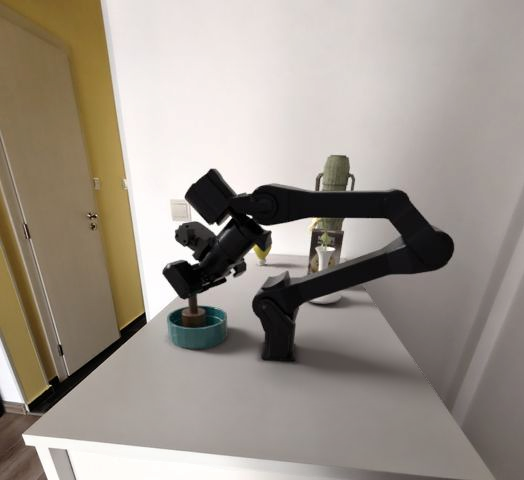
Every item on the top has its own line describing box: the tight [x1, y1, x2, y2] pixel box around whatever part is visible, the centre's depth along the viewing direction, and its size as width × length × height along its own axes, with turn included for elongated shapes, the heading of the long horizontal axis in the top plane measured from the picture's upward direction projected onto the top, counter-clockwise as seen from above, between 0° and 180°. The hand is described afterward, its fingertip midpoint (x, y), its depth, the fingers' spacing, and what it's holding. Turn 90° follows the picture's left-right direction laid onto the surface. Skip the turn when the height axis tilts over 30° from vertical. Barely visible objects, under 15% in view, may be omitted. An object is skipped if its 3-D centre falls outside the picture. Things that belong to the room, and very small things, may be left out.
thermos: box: [314, 154, 356, 231], centre depth 106 cm, size 9×12×35 cm
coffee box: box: [306, 227, 345, 275], centre depth 99 cm, size 9×6×16 cm
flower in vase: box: [307, 218, 342, 305], centre depth 84 cm, size 13×11×25 cm
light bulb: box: [252, 245, 272, 267], centre depth 119 cm, size 7×7×10 cm
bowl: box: [166, 304, 228, 350], centre depth 69 cm, size 12×12×4 cm
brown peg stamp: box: [182, 294, 206, 328], centre depth 68 cm, size 5×5×10 cm
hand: (187, 293), depth 67 cm, fingers closed on brown peg stamp
